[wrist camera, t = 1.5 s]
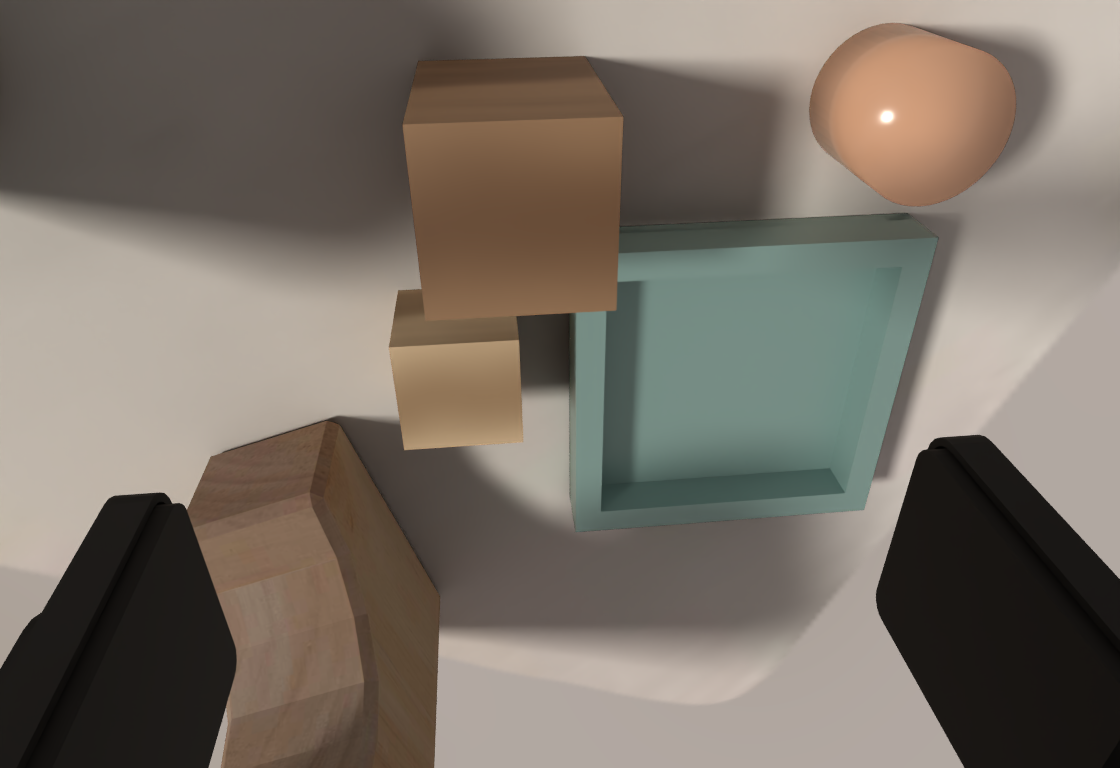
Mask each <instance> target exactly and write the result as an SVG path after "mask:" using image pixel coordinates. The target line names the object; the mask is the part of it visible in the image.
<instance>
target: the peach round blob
mask: <svg viewBox="0 0 1120 768" xmlns="http://www.w3.org/2000/svg"><path fill="white" fill-rule="evenodd" d="M1015 112H1016V95H1015V88H1014V85H1013V82H1012V79H1011V77H1010V75H1009V73H1008V71H1007V70H1006V68H1005V67H1004V66H1003V64H1002V63H1001V62H1000V61H998V60H997V59H996V58H995V57H993V56H992V55H990V54H988V53H986V52H984V51H981V50H979V49H976V48H973V47H970V46H967V45H964V44H962V43H959V42H956V41H953V40H950V39H947V38H944V37H941V36H938V35H936V34H933V33H930V32H927V31H924V30H921V29H918V28H915V27H913V26H910V25H906V24H901V23H886V24H880V25H876V26H872V27H870V28H867V29H864V30H862V31H860V32H859V33H857V34H855V35H853V36H852V37H850V38H849V39H848V40H846V41H845V42H844V43H843V44H842V45H840V46H839V47H838V48H837V49H836V50H835V51H834V52H833V53H832V55H831V56H830V57H829V59H828V60H827V61H826V62H825V64H824V66H823V67H822V69H821V71H820V72H819V75H818V77H817V79H816V81H815V84H814V87H813V90H812V94H811V98H810V107H809V115H810V123H811V128H812V131H813V134H814V136H815V138H816V140H817V142H818V143H819V145H820V146H821V148H822V149H823V150H824V151H825V152H826V153H828V154H829V155H830V156H831V157H833V158H834V159H835V160H837V161H838V162H839V163H840V164H842V165H843V166H844V167H846V168H847V169H848V170H849V171H851V172H852V173H853V174H854V175H856V176H857V177H858V178H860V179H861V180H862V181H863V182H865V183H866V184H867V185H869V186H870V187H871V188H872V189H874V190H875V191H876V192H878V193H879V194H880V195H882V196H883V197H884V198H886V199H888V200H890V201H892V202H894V203H897V204H900V205H906V206H926V205H932V204H936V203H939V202H942V201H945V200H948V199H950V198H952V197H954V196H956V195H958V194H960V193H961V192H963V191H965V190H966V189H968V188H969V187H970V186H972V185H973V184H974V183H976V182H977V181H978V180H979V179H980V178H981V177H982V176H983V175H984V174H985V173H986V172H987V171H988V170H989V169H990V168H991V166H992V165H993V164H994V162H995V161H996V160H997V158H998V157H999V155H1000V154H1001V152H1002V150H1003V149H1004V147H1005V145H1006V143H1007V141H1008V139H1009V136H1010V133H1011V130H1012V127H1013V123H1014V119H1015Z"/></svg>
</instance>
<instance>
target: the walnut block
mask: <svg viewBox="0 0 1120 768" xmlns="http://www.w3.org/2000/svg"><path fill="white" fill-rule="evenodd" d="M402 125H403V134H404V142H405V151H406V159H407V168H408V176H409V185H410V194H411V202H412V211H413V219H414V228H415V236H416V245H417V253H418V262H419V270H420V279H421V287H422V296H423V304H424V313H425V321H434V320H452V319H470V318H489V317H507V316H525V315H543V314H561V313H580V312H598V311H616V309H617V281H618V253H619V224H620V196H621V168H622V140H623V115H622V114H621V112H620V111H619V109H618V108H617V106H616V104H615V103H614V101H613V100H612V98H611V97H610V95H609V93H608V92H607V90H606V89H605V87H604V85H603V84H602V82H601V81H600V79H599V78H598V76H597V74H596V73H595V71H594V70H593V68H592V67H591V65H590V63H589V62H588V60H587V59H586V57H585V56H573V57H539V58H505V59H470V60H436V61H418V64H417V68H416V72H415V76H414V80H413V84H412V88H411V92H410V96H409V100H408V104H407V108H406V112H405V116H404V120H403V124H402Z"/></svg>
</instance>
